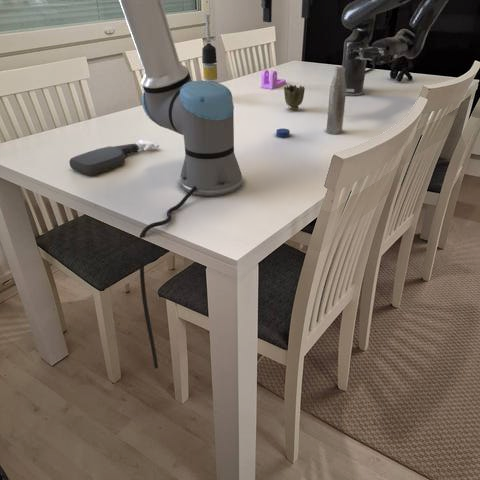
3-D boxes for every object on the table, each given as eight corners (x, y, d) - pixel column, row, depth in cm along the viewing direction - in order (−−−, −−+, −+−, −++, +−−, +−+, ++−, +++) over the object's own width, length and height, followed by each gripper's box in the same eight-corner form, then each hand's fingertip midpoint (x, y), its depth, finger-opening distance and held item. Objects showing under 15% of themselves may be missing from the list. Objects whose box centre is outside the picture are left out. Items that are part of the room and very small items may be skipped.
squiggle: (400, 92, 202) (376, 71, 205) (417, 76, 202) (392, 56, 205) (405, 81, 191) (380, 59, 194) (423, 64, 191) (397, 42, 194)
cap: (290, 137, 138) (290, 132, 137) (277, 138, 138) (277, 133, 137) (287, 133, 142) (288, 128, 141) (275, 133, 141) (275, 128, 140)
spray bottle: (67, 168, 120) (139, 144, 136) (91, 178, 114) (163, 151, 130) (65, 157, 118) (137, 134, 134) (89, 167, 112) (162, 142, 128)
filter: (220, 99, 177) (217, 15, 161) (206, 100, 176) (202, 16, 160) (215, 96, 182) (212, 14, 166) (202, 97, 180) (197, 14, 164)
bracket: (272, 88, 190) (272, 71, 187) (261, 87, 193) (261, 70, 189) (288, 83, 199) (288, 66, 195) (277, 81, 202) (278, 65, 198)
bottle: (338, 135, 139) (345, 70, 129) (324, 132, 141) (329, 68, 131) (344, 130, 143) (351, 67, 133) (329, 128, 145) (335, 65, 135)
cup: (280, 111, 162) (280, 88, 158) (287, 106, 167) (288, 84, 163) (299, 113, 159) (300, 90, 155) (306, 108, 164) (308, 85, 160)
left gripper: (258, -77, 103) (258, 24, 114) (337, -75, 114) (329, 17, 126) (240, -75, 108) (241, 22, 119) (317, -73, 120) (311, 15, 131)
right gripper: (367, 36, 150) (342, 42, 140) (408, 40, 141) (384, 47, 131) (364, 59, 154) (339, 67, 144) (404, 65, 146) (380, 74, 136)
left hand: (286, 20), depth 122 cm, fingers open, 13 cm apart
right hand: (361, 58), depth 138 cm, fingers open, 8 cm apart
